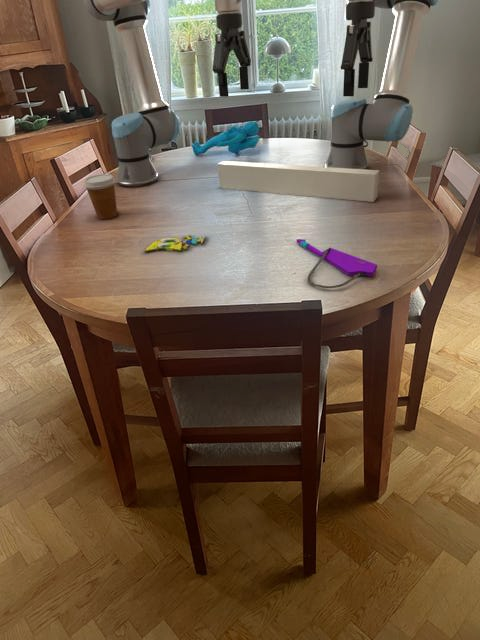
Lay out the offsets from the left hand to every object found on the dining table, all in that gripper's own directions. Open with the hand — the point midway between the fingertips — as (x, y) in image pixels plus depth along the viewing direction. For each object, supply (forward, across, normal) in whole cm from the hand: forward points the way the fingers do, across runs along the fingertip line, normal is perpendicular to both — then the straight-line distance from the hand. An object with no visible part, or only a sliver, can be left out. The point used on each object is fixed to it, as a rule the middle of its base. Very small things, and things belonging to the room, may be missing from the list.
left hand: (234, 92), depth 151 cm
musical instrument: (+30, -48, -47) cm, 74 cm away
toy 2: (+30, +41, +29) cm, 59 cm away
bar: (+30, 0, -19) cm, 36 cm away
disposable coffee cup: (+30, -36, +30) cm, 56 cm away
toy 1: (+30, -48, -5) cm, 57 cm away
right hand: (0, 0, -39) cm, 39 cm away
